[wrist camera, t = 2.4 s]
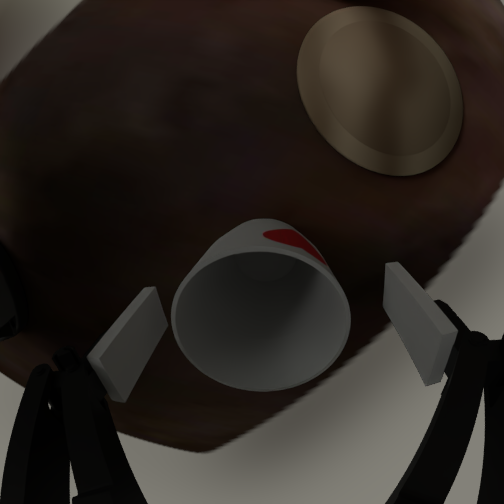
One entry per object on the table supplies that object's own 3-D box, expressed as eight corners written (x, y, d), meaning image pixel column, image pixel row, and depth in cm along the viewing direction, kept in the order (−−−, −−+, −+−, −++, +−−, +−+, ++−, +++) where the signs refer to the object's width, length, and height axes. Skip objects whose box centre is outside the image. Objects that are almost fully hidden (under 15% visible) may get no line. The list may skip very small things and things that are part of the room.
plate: (311, 181, 19) (313, 182, 18) (281, 9, 14) (281, 3, 13) (464, 173, 18) (470, 175, 17) (437, 23, 13) (442, 20, 12)
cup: (336, 265, 21) (375, 347, 12) (252, 314, 23) (240, 407, 14) (280, 178, 19) (288, 205, 10) (192, 239, 21) (137, 306, 12)
